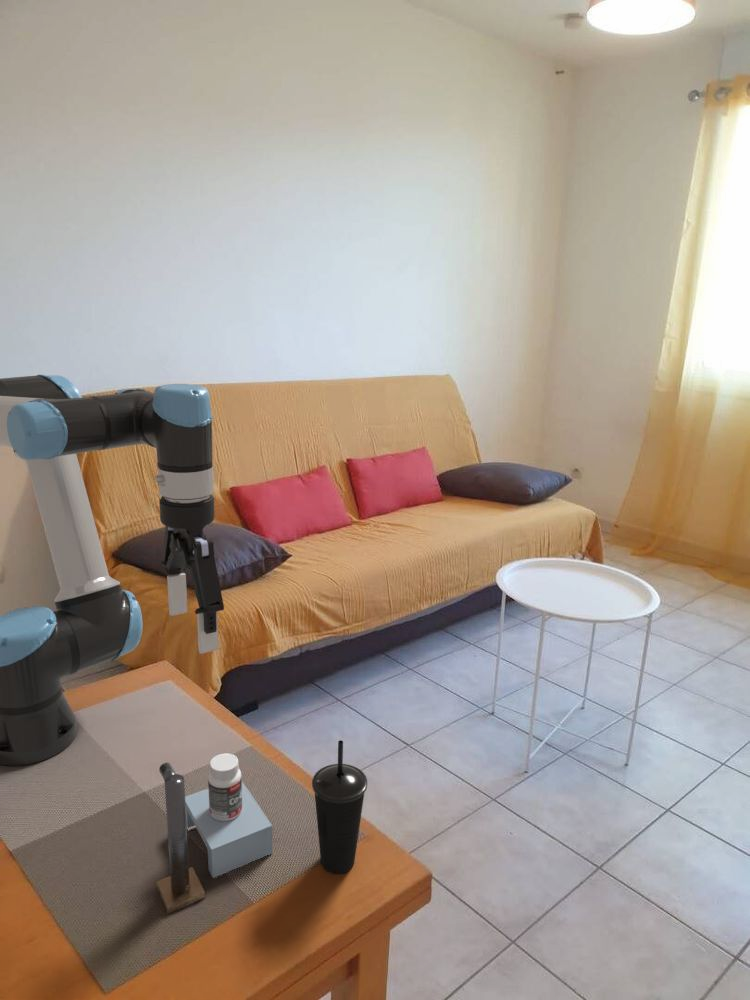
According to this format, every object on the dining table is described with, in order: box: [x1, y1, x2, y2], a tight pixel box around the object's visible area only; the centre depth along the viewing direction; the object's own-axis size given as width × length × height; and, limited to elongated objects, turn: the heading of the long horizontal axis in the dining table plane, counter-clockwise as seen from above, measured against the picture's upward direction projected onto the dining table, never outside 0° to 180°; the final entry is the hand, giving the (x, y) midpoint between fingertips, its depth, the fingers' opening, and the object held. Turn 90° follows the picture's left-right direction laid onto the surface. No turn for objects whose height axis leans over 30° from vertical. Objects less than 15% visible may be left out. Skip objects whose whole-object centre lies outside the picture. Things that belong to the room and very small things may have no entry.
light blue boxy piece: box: [185, 780, 273, 879], centre depth 106 cm, size 12×9×5 cm
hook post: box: [155, 762, 206, 915], centre depth 95 cm, size 6×5×18 cm
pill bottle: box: [207, 752, 243, 821], centre depth 104 cm, size 5×5×8 cm
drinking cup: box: [311, 740, 368, 875], centre depth 100 cm, size 8×8×20 cm
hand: (192, 631), depth 108 cm, fingers open, 13 cm apart
